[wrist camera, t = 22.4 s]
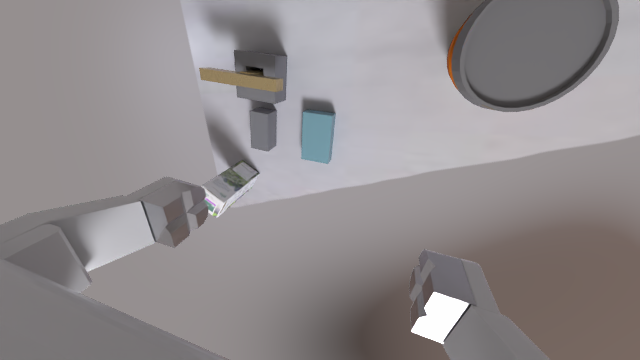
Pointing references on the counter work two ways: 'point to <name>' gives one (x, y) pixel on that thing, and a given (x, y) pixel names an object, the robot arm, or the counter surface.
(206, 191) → the syrup box
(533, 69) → the reusable coffee cup
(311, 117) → the cover
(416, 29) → the counter surface
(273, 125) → the block
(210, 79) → the T-key
